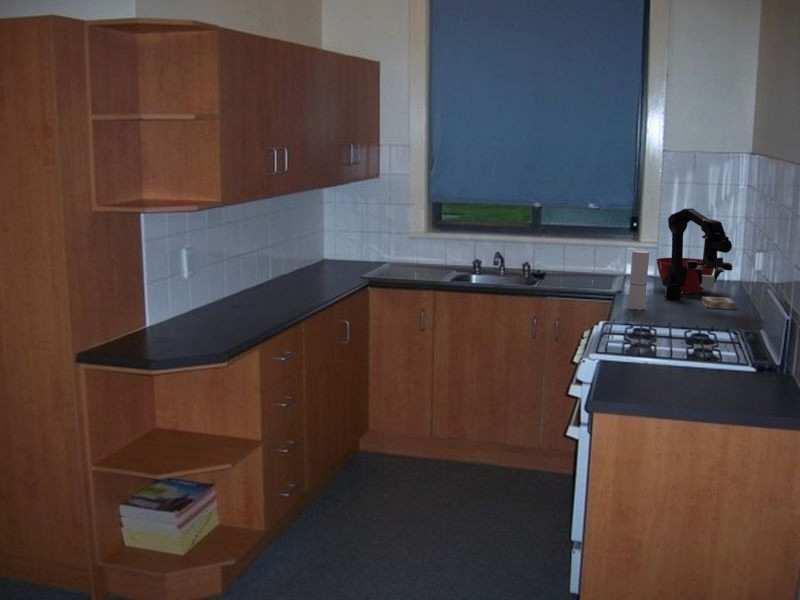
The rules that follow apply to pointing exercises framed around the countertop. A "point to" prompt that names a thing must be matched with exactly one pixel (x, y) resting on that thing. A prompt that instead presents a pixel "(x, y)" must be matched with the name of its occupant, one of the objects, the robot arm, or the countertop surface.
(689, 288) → the mixing bowl
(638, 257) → the white rectangular tower
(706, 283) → the gray cube
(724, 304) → the birch base
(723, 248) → the robot arm
